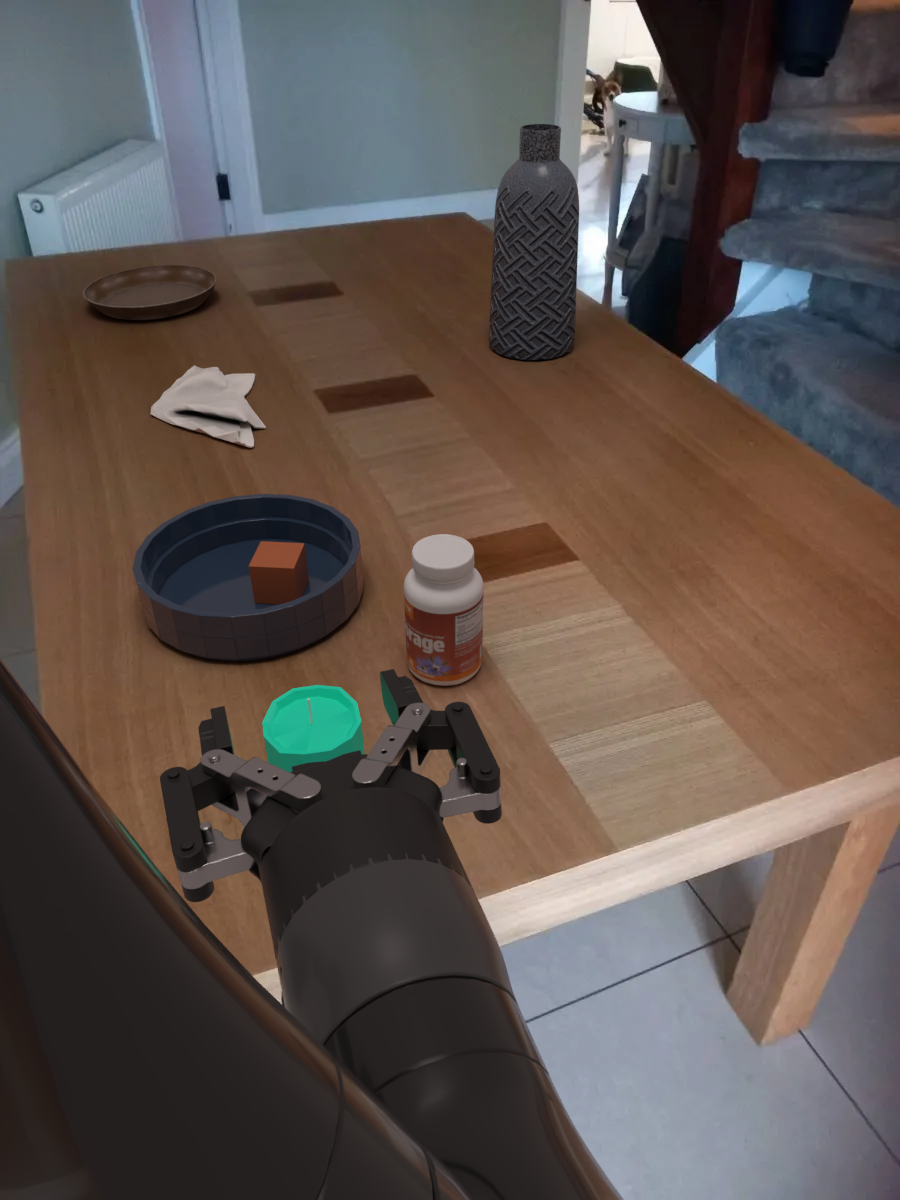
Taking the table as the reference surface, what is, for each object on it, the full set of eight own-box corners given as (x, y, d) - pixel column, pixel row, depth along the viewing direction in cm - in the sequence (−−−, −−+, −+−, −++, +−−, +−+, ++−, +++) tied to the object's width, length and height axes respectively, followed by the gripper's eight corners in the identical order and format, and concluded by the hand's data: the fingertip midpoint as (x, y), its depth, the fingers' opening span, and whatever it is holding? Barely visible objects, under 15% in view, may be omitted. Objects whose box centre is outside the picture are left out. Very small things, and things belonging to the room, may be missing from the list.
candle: (318, 786, 64) (300, 654, 57) (389, 820, 62) (379, 686, 55) (262, 845, 60) (235, 711, 53) (336, 884, 58) (318, 749, 51)
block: (254, 603, 81) (248, 566, 79) (266, 577, 84) (260, 540, 82) (299, 605, 81) (293, 568, 78) (309, 579, 84) (304, 542, 82)
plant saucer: (79, 331, 138) (74, 309, 136) (94, 289, 155) (89, 269, 153) (219, 320, 141) (215, 299, 139) (219, 280, 158) (216, 260, 156)
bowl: (110, 658, 76) (95, 609, 73) (187, 533, 92) (178, 489, 89) (340, 671, 74) (335, 622, 71) (379, 542, 90) (376, 498, 87)
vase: (487, 361, 127) (490, 136, 110) (489, 330, 137) (493, 119, 120) (575, 363, 126) (592, 136, 110) (571, 331, 136) (586, 118, 119)
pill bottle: (391, 662, 75) (383, 549, 69) (446, 630, 79) (444, 519, 72) (442, 700, 72) (439, 583, 65) (498, 664, 75) (501, 550, 68)
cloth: (155, 373, 125) (151, 357, 124) (257, 364, 127) (255, 348, 126) (147, 460, 104) (142, 442, 103) (269, 447, 107) (266, 429, 105)
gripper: (567, 816, 33) (434, 610, 46) (156, 929, 29) (144, 670, 43) (566, 960, 36) (443, 730, 50) (200, 1076, 33) (176, 794, 47)
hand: (305, 702), depth 46 cm, fingers open, 8 cm apart
